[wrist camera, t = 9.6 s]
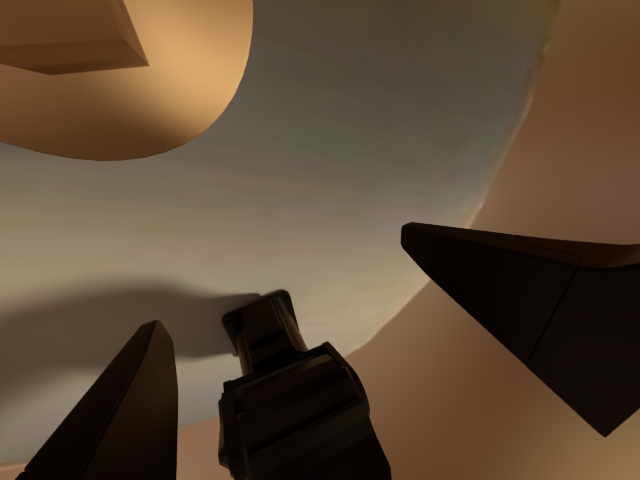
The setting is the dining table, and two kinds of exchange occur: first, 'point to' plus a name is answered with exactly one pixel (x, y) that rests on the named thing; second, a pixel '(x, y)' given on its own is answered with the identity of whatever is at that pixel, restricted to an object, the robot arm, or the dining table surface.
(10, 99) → the lid
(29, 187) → the dining table surface
